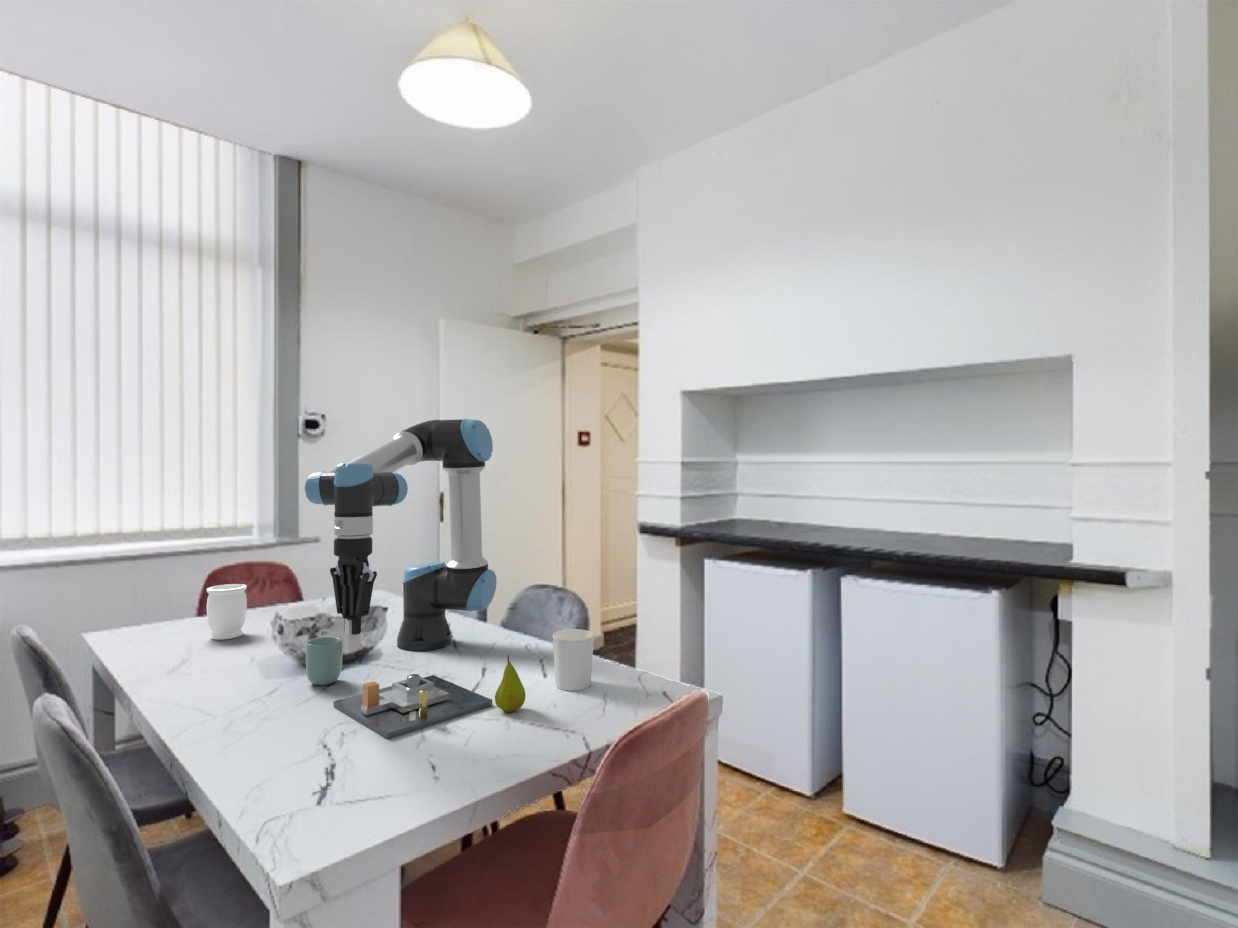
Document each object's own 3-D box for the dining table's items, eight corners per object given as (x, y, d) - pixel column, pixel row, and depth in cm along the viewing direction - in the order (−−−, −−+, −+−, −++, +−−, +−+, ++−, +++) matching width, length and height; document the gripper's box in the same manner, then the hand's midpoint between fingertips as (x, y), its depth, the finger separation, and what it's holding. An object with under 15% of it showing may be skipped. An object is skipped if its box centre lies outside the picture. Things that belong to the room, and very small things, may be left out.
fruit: (524, 704, 142) (525, 649, 142) (525, 714, 136) (525, 657, 136) (495, 705, 141) (495, 650, 141) (494, 716, 135) (494, 659, 135)
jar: (233, 641, 191) (233, 590, 191) (198, 641, 191) (198, 590, 191) (254, 631, 202) (254, 583, 202) (220, 631, 202) (220, 583, 202)
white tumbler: (543, 685, 154) (543, 634, 154) (574, 675, 161) (574, 626, 161) (572, 695, 147) (572, 642, 147) (602, 684, 155) (602, 634, 155)
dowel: (424, 713, 133) (424, 688, 133) (428, 715, 132) (428, 690, 132) (417, 715, 132) (417, 690, 132) (421, 717, 131) (421, 692, 131)
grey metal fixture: (423, 686, 148) (423, 662, 148) (449, 698, 141) (449, 672, 141) (351, 706, 136) (351, 679, 136) (376, 720, 129) (376, 692, 129)
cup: (328, 689, 151) (328, 646, 151) (298, 687, 152) (298, 644, 152) (348, 678, 158) (348, 637, 158) (320, 676, 160) (320, 635, 160)
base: (433, 679, 158) (433, 652, 158) (492, 705, 141) (492, 675, 141) (333, 706, 140) (333, 676, 140) (387, 739, 124) (387, 705, 124)
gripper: (318, 536, 137) (317, 648, 137) (356, 540, 130) (355, 658, 130) (350, 533, 144) (349, 640, 143) (388, 536, 137) (387, 649, 136)
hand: (352, 648), depth 137 cm, fingers closed
